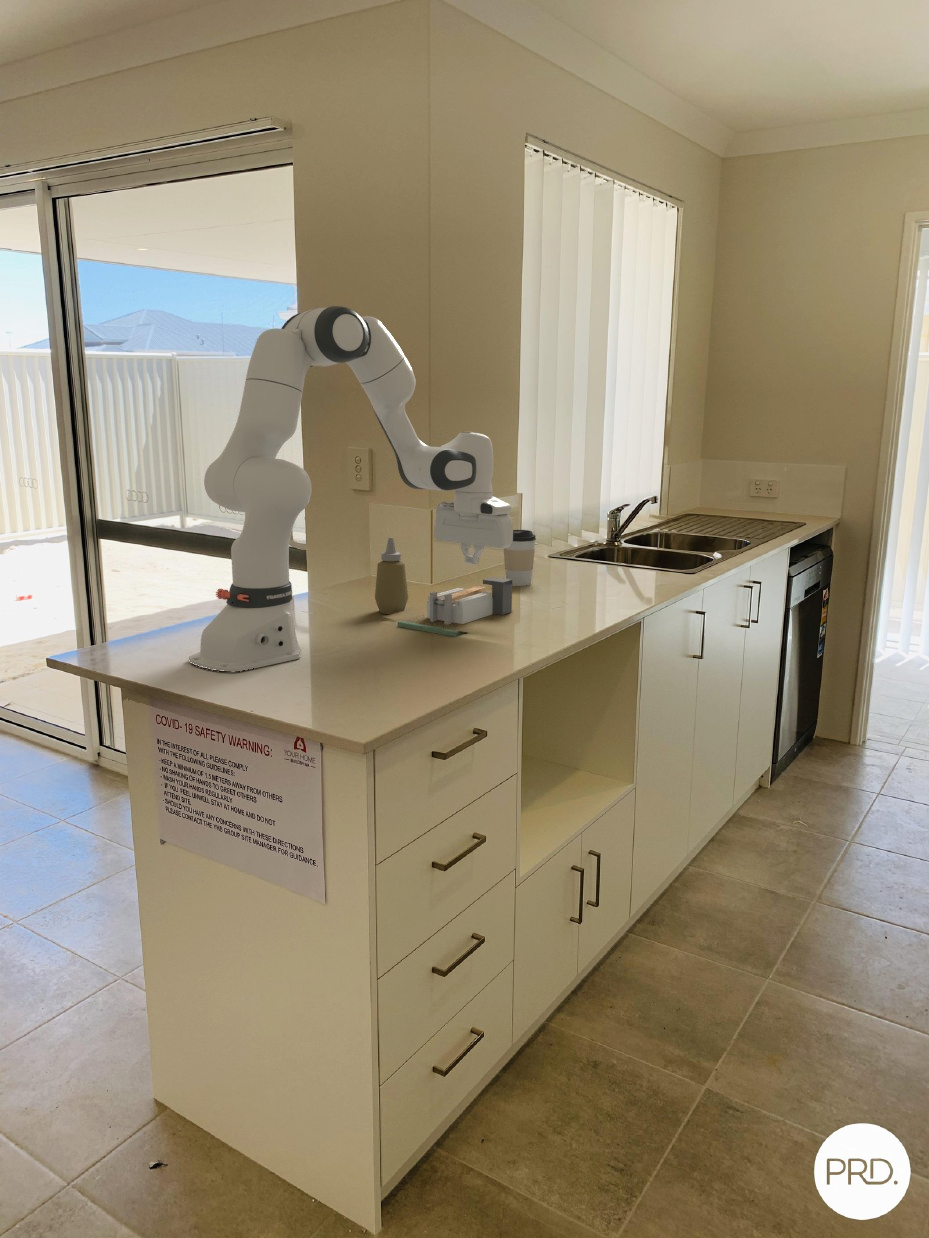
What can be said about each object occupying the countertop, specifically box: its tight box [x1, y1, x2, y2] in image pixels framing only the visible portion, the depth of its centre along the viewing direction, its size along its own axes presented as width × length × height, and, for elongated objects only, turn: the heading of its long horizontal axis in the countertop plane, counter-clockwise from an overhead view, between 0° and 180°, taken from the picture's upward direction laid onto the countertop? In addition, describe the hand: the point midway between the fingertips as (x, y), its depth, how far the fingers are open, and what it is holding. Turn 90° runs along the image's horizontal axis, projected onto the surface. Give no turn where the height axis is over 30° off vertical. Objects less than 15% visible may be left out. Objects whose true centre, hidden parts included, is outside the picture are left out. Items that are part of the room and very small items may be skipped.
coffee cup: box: [503, 529, 537, 587], centre depth 259 cm, size 9×9×15 cm
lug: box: [482, 576, 513, 616], centre depth 221 cm, size 4×6×8 cm
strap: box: [435, 585, 487, 606], centre depth 217 cm, size 17×3×1 cm, turn 145°
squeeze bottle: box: [374, 537, 409, 615], centre depth 224 cm, size 8×8×18 cm
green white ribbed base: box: [397, 587, 508, 638], centre depth 217 cm, size 26×16×8 cm, turn 145°
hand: (471, 563), depth 219 cm, fingers closed
